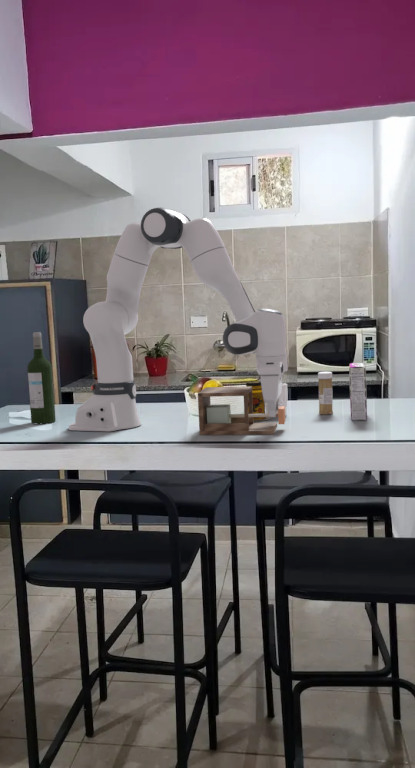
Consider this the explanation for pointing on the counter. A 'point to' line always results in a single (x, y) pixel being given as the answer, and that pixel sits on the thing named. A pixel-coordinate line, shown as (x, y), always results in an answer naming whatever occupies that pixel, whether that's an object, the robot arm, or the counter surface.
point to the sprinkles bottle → (325, 392)
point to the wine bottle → (40, 385)
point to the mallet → (223, 414)
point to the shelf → (237, 424)
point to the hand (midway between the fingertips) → (274, 413)
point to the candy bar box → (358, 391)
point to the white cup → (280, 399)
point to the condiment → (257, 400)
